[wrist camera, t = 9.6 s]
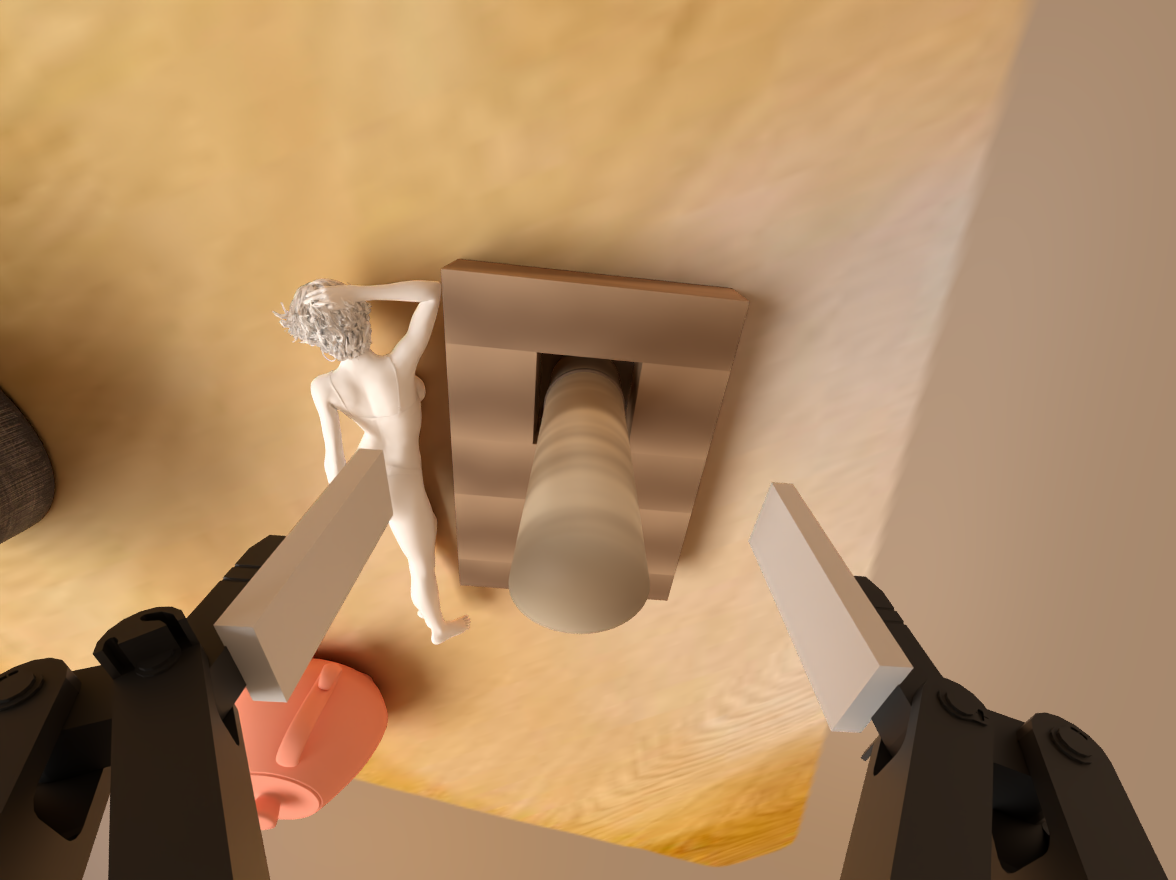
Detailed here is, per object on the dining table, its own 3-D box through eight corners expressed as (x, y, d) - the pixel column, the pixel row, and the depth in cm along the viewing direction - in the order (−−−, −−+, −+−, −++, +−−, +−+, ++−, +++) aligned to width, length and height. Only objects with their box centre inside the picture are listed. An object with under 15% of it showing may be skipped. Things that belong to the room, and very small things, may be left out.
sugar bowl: (248, 699, 42) (156, 838, 33) (273, 611, 36) (169, 753, 27) (377, 733, 45) (324, 870, 36) (421, 658, 38) (371, 799, 30)
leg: (551, 344, 24) (506, 525, 11) (626, 352, 25) (665, 538, 12) (547, 412, 27) (504, 630, 14) (616, 418, 27) (640, 640, 14)
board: (458, 258, 22) (440, 268, 20) (732, 288, 23) (749, 301, 20) (470, 552, 32) (459, 585, 30) (661, 567, 33) (667, 600, 30)
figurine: (466, 581, 37) (381, 261, 25) (512, 615, 34) (441, 267, 21) (381, 647, 32) (220, 287, 20) (426, 694, 29) (267, 300, 16)
